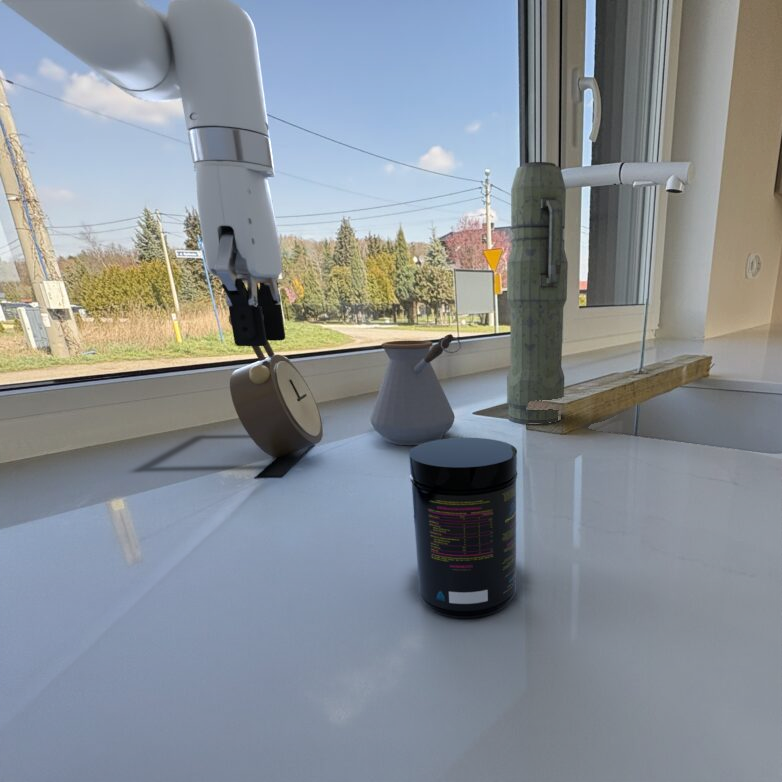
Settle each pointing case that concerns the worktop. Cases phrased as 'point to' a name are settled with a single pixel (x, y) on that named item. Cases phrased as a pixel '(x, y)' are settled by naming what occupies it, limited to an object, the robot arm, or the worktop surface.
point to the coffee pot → (412, 394)
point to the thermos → (536, 290)
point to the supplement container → (465, 524)
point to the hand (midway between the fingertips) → (261, 341)
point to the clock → (275, 404)
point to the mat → (282, 464)
